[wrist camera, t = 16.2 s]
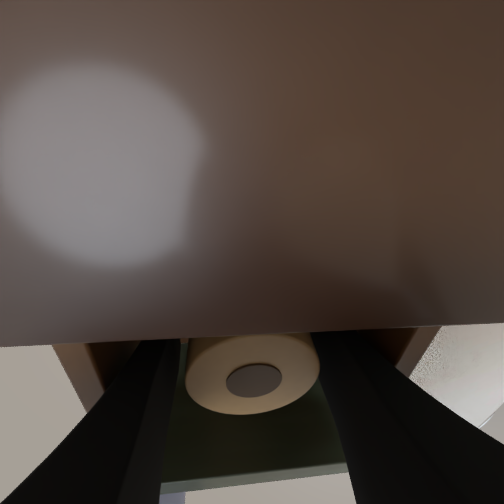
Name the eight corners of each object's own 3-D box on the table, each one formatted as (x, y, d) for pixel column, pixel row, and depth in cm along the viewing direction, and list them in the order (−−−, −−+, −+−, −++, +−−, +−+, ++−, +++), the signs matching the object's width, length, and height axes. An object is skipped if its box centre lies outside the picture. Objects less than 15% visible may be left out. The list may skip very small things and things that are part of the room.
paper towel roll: (231, 326, 14) (237, 429, 10) (174, 276, 12) (152, 381, 8) (302, 287, 14) (342, 383, 9) (255, 224, 11) (278, 313, 7)
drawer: (308, 387, 21) (343, 504, 15) (154, 398, 19) (128, 533, 14) (369, 190, 12) (502, 289, 7) (102, 184, 11) (-24, 305, 5)
